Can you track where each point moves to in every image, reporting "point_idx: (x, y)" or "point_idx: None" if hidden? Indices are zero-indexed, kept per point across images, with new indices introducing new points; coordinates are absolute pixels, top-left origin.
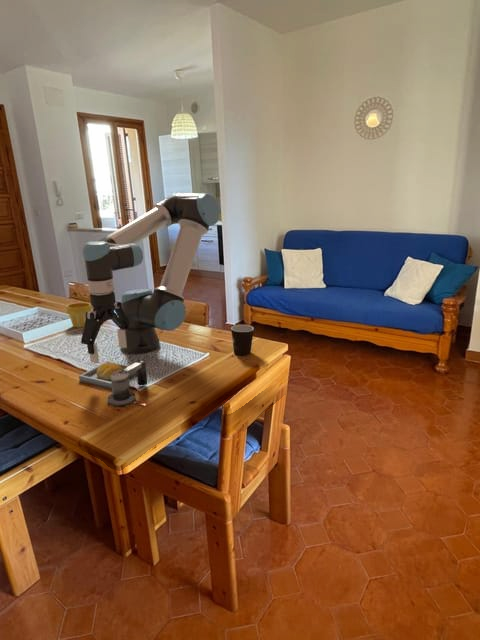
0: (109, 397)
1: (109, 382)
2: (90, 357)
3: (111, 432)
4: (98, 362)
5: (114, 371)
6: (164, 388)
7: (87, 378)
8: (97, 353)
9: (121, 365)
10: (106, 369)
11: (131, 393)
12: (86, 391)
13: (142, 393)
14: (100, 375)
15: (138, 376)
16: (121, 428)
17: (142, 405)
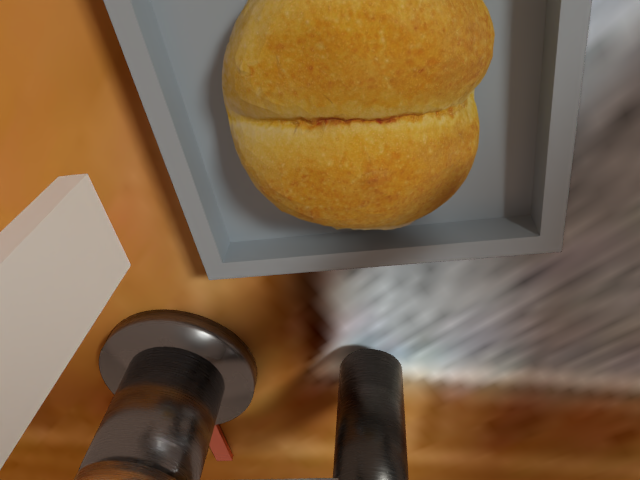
0: (121, 341)
1: (207, 256)
2: (23, 218)
3: (15, 464)
4: (120, 267)
5: (316, 223)
6: (413, 438)
7: (115, 26)
8: (64, 358)
9: (553, 67)
10: (281, 156)
11: (237, 393)
12: (64, 127)
13: (302, 395)
14: (228, 107)
15: (336, 423)
16: (57, 472)
17: (214, 452)
